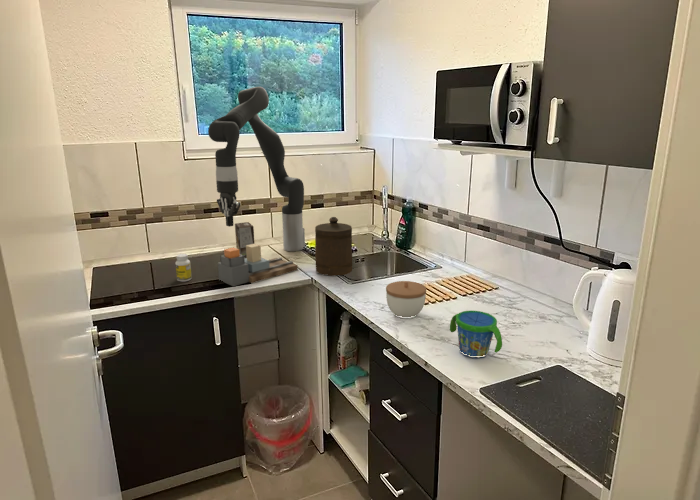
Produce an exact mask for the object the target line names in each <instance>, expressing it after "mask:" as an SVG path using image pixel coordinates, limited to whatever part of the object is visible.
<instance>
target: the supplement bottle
mask: <svg viewBox="0 0 700 500" xmlns="http://www.w3.org/2000/svg"><path fill="white" fill-rule="evenodd" d="M175 271H176V272H175V274H176V280H177V281H178V282H189V281H190V280H191V279H192V267H191V260H189V257H188V254H187V253H180V254H177V255H176V261H175Z"/></svg>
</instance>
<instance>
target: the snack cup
mask: <svg viewBox="0 0 700 500" xmlns="http://www.w3.org/2000/svg"><path fill="white" fill-rule="evenodd" d="M497 323H498V320H497V318H496V317H495V316H494V315H492V314H490V313H487V312H484V311H482V310H481V311H480V310H464V311H461V312H458V313H456V314H455V315H453V316H452V317H451V320H450V323H449V332H451V333H454V332H456V331H457V338H458V339H457V340H458V348H459V349H460V350H459V352H460V351H461V352H463V353H464V354H467V355H470V356H483V355H486V354H487V353H489V350H490V347H491V344H492V341H493V336H494V337H495V341H496V344H495V348H494V353H498V352H500V351H501V349H502V347H503V336H502V333H501V330H500V329H499V327H498V326H497ZM487 355H488V354H487ZM487 355H486V356H487Z"/></svg>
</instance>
